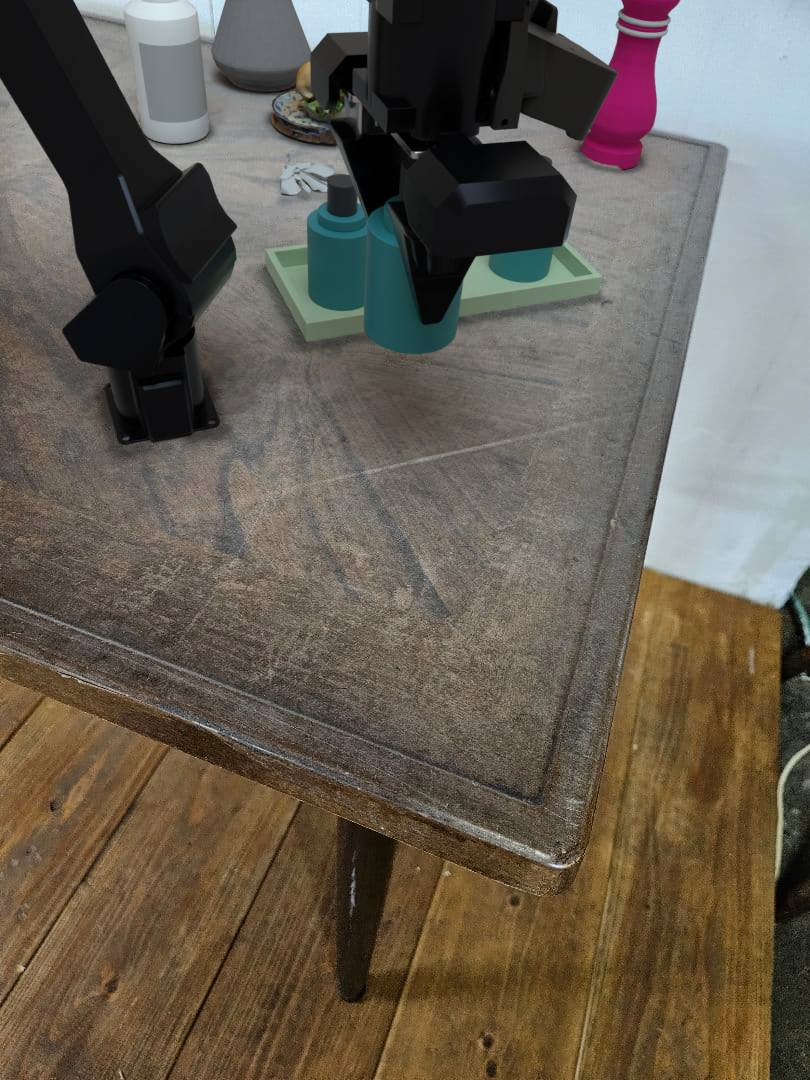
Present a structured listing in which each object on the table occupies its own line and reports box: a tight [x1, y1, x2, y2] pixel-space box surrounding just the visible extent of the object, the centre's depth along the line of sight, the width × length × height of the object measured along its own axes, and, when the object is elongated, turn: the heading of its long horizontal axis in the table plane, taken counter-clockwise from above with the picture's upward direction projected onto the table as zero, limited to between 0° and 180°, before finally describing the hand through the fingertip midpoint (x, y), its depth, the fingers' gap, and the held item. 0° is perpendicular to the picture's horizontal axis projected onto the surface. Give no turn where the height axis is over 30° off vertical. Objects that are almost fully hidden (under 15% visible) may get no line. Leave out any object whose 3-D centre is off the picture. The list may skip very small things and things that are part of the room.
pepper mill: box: [580, 0, 681, 170], centre depth 81 cm, size 7×7×20 cm
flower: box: [278, 149, 336, 196], centre depth 78 cm, size 8×8×3 cm
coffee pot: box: [210, 0, 312, 93], centre depth 91 cm, size 21×12×15 cm, turn 96°
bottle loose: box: [364, 156, 463, 355], centre depth 43 cm, size 5×5×9 cm
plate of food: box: [271, 46, 345, 145], centre depth 87 cm, size 12×12×8 cm
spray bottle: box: [123, 0, 210, 145], centre depth 79 cm, size 7×7×18 cm
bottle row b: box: [306, 173, 367, 311], centre depth 62 cm, size 5×5×9 cm
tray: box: [264, 240, 603, 343], centre depth 68 cm, size 11×25×2 cm, turn 112°
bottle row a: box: [489, 154, 554, 282], centre depth 67 cm, size 5×5×9 cm
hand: (412, 295), depth 44 cm, fingers closed on bottle loose, 5 cm apart
